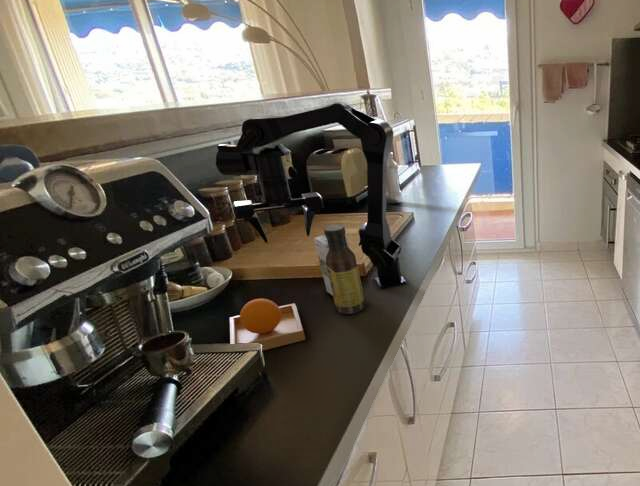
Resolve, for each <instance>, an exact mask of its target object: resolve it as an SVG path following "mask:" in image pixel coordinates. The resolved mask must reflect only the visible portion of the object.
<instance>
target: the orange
mask: <svg viewBox="0 0 640 486" xmlns="http://www.w3.org/2000/svg"><path fill="white" fill-rule="evenodd" d="M279 307H280V306H279V305H278V304H277V303H276V302H274V300H270V299H268V298H254V299H252V300H250V301H248V302H246V304H244V305H243V306H242V308H241V310H240V313H239V315H240V321H241V324H242V325H243V327H244V328H245V329H246V330H248V331H250V332H252V333H256V334H264V333H268V332H270V331H272V330H274V329H275V328H276V327H277V326H278V324H279V323H280V320H281V311H280V309H279Z"/></svg>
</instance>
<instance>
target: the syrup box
mask: <svg viewBox="0 0 640 486" xmlns="http://www.w3.org/2000/svg"><path fill="white" fill-rule="evenodd" d="M313 240H314V244H315V249H316V252H317V253H316V254H317V256H318V261H319V265H320V270H321V273H322V278H323V282H324V286H325V291H326V293H327V294H329V295H330V296H332V297H333V292H332V288H331V284H330V279H329V275H328V271H327V266H326V255H327V253H328V251H329V247H328V241H327V237H326V235H325V234H322V235H319V236H317V237H314V238H313ZM346 242H347V246H348V248H349V249H350V245H349V240H348V237H346Z"/></svg>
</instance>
